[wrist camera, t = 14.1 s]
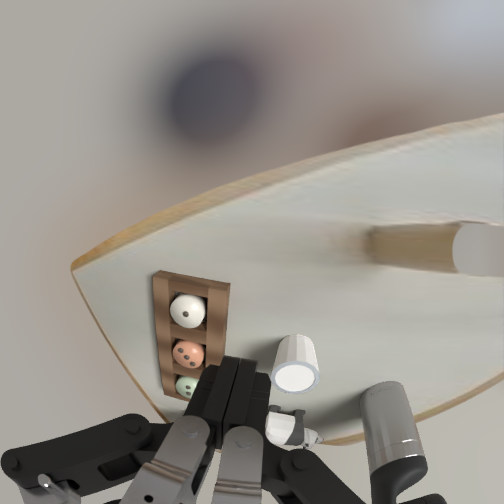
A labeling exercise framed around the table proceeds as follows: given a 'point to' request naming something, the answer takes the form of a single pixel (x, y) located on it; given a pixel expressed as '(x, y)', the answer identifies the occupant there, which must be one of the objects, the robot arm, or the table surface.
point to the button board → (205, 333)
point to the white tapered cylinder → (295, 365)
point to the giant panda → (289, 429)
